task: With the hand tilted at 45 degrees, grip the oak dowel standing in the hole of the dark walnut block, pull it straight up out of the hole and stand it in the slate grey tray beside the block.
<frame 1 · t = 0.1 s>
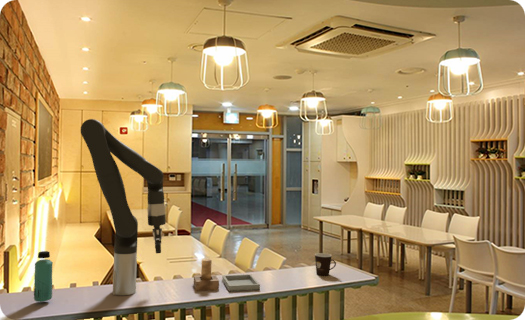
hand: (158, 250, 186), 17 cm above the table, tool pointing down, fingers open, 8 cm apart
walnut block: (205, 286, 193), on the table
beverage bottle: (42, 303, 167), on the table
slate grey tray: (240, 285, 198), on the table
oak dowel: (205, 287, 193), resting in walnut block
coffee mug: (323, 275, 219), on the table
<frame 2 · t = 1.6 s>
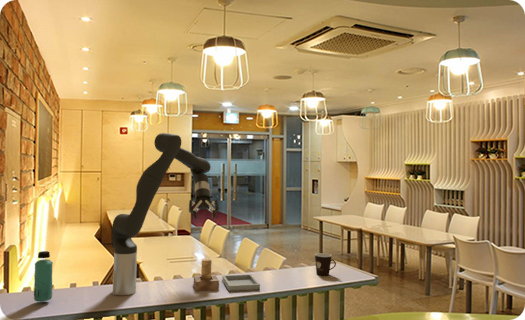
hand: (204, 218, 205), 29 cm above the table, tool tilted 45°, fingers open, 8 cm apart
nothing on the table moved.
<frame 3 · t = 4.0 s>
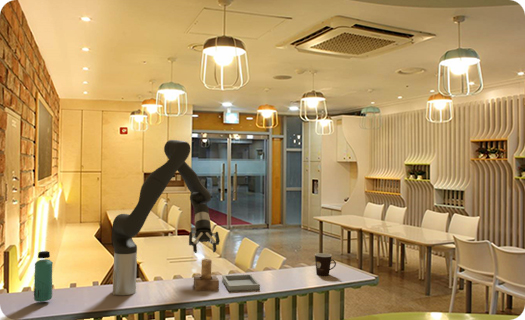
hand: (205, 251, 198), 15 cm above the table, tool tilted 45°, fingers open, 8 cm apart
nothing on the table moved.
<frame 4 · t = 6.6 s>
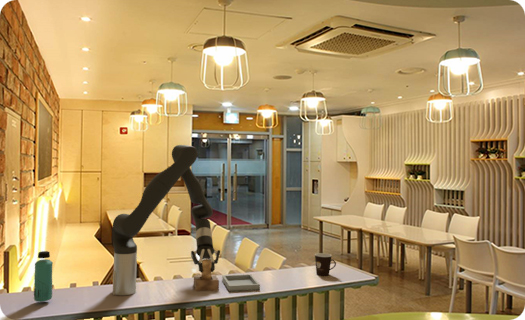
hand: (207, 271, 192), 8 cm above the table, tool tilted 45°, fingers closed on oak dowel, 4 cm apart
oak dowel: (206, 286, 193), resting in walnut block, touching gripper
everything else where it was.
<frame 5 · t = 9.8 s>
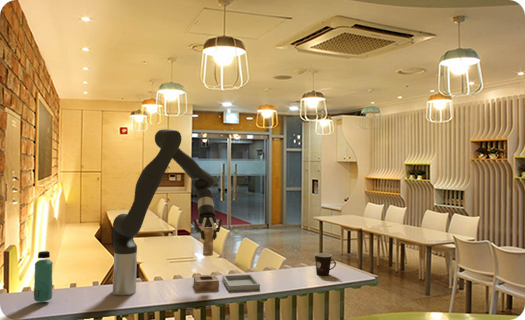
hand: (209, 238, 192), 22 cm above the table, tool tilted 45°, fingers closed on oak dowel, 4 cm apart
oak dowel: (207, 254, 194), point 14 cm above the table, touching gripper
everything else where it was.
when the fingers open (10 cm above the table, at t = 13.5 s): oak dowel drops 1 cm, resting on slate grey tray.
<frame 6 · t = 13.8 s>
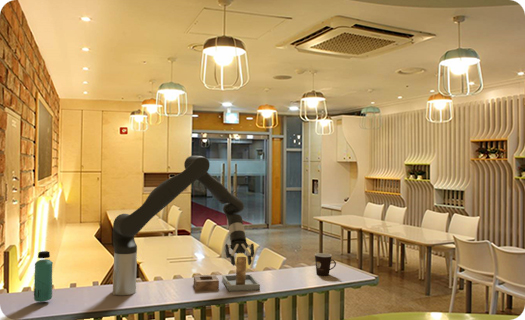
hand: (241, 264, 196), 10 cm above the table, tool tilted 45°, fingers open, 6 cm apart
oak dowel: (240, 283, 198), point 1 cm above the table, touching slate grey tray
everything else where it was.
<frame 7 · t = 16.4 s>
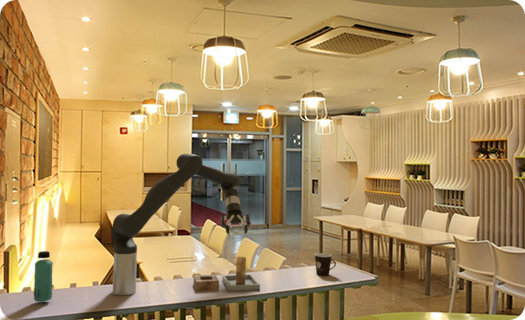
hand: (237, 233, 208), 22 cm above the table, tool tilted 45°, fingers open, 8 cm apart
nothing on the table moved.
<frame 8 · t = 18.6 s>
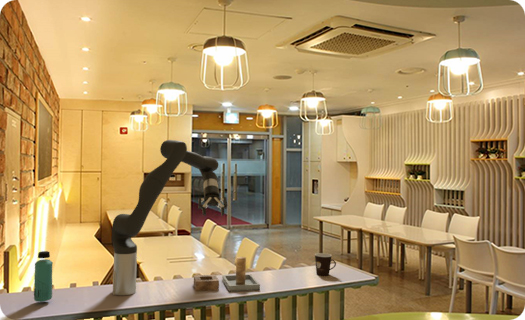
hand: (213, 214, 209), 31 cm above the table, tool tilted 45°, fingers open, 8 cm apart
nothing on the table moved.
at the end: oak dowel inside the target area on the slate grey tray (0.1 cm from its centre), point 0.6 cm above the slate grey tray's base; the gripper is holding nothing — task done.
